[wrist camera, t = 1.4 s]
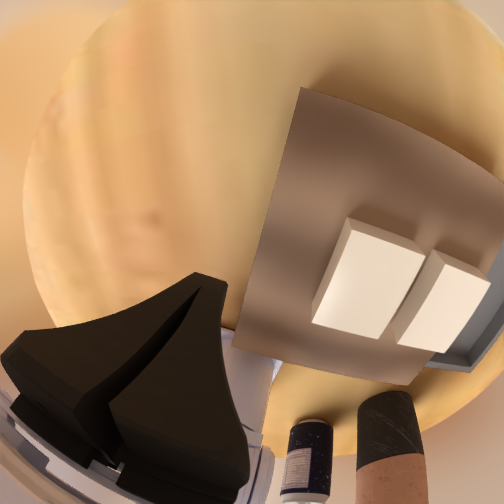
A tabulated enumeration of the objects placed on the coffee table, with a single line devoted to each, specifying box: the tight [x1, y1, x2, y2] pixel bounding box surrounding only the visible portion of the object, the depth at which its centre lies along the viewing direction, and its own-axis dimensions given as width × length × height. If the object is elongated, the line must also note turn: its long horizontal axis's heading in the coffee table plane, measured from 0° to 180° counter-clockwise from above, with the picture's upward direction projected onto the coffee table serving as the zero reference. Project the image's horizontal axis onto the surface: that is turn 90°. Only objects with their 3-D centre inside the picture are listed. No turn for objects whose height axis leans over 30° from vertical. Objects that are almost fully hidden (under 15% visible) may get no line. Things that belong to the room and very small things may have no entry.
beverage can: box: [280, 419, 333, 504], centre depth 25 cm, size 6×6×12 cm
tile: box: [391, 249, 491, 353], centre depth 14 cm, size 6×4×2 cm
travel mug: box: [355, 391, 428, 504], centre depth 18 cm, size 8×8×20 cm
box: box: [424, 240, 504, 373], centre depth 17 cm, size 16×9×2 cm, turn 167°
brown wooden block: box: [231, 87, 504, 386], centre depth 17 cm, size 18×16×4 cm
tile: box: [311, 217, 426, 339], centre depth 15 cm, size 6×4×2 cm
